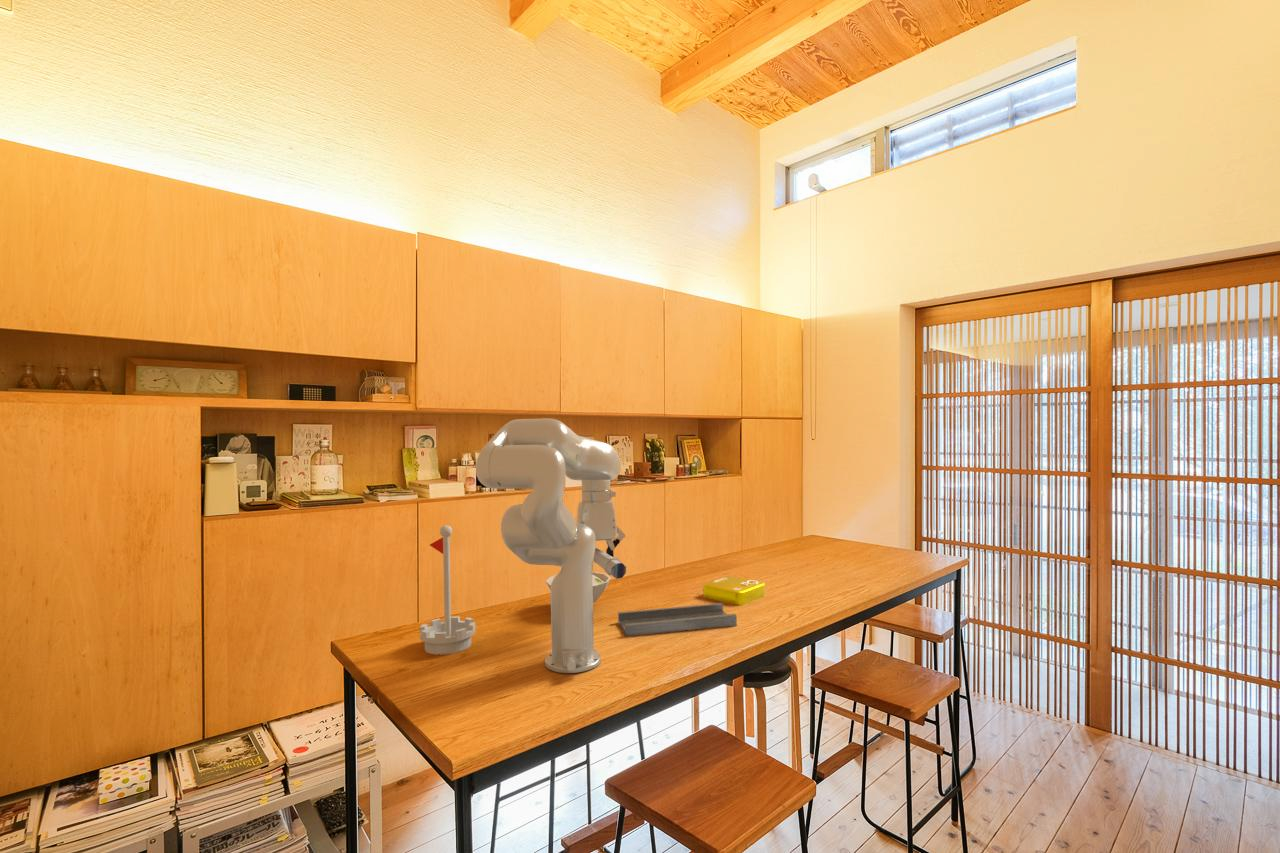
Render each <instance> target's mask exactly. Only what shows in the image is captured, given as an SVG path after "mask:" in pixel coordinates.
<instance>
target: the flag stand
mask: <svg viewBox="0 0 1280 853" xmlns="http://www.w3.org/2000/svg"><path fill="white" fill-rule="evenodd" d="M439 533H440V535H441V538H439V539H437V540H436V541H434V542H432V543H430V544H429V546H430V547H432V548H433V549H435V550H436V551H438V552H439V553H441V554H442V555H443V556H442V557H443V563H442V564H443V604H444V605H443V611H444V612H443V614H444V621H442V619H441V618H435V619H432V620H430V622H429V623H430V624H429V625H428V623H423V624H421V625H420V627H419V639H420V640H421V641H422V642H423V643H424V651H425V653H427V654H431V655H436V656H437V655H438V654H440V655H441V656H442V654H443V655H451V654H455V653H458V652H462V651H465V650H467V649H468V648H470V647H471V645H472V636H474V634H476V622H475V621H474V619H473V618H471V617H468V616H467V617H466V618H464V620H461V616H460V615H459V616H458V615H457V616H452V615H451V614H452V610H451V608H452V606H451V603H452V601H451V600H452V599H451V556H450V552H451V551H450V548H451V547H450V543H451V542H450V536H452V534H453V529H452V527H451V526H450V525H447V524H446V525H443V526H441V528H440V529H439Z"/></svg>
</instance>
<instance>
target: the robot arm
mask: <svg viewBox="0 0 1280 853" xmlns="http://www.w3.org/2000/svg"><path fill="white" fill-rule="evenodd" d="M621 468H622V462H621V457H620V455H619V453H618V452H617V450H616V449H615V448H614V447H613V446H612V445H611V444H609V443H606V442H605V441H599V440H596V439H592V438H590V437H585V436H582V435H578V434H577V433H576V432H574V431H573V430H572V429H571V428H570V427H568V426H567V425H566V424H565V423H563V421H561V420H558V419H556V418H543V417H542V418H518V419H512V420H510V421H508V422H506V423H505V424H504V425H503V426H502V427H501V428H499V429H498V431H497V432H496V433H495V434H494V435H493V436H492V437H491V438H490V439H489V440H488V441H487V442H486V444H485V445H484V446H483V447H482V449H481V450H480V452H479V453H478V456H477V458H476V462H475V473H476V476H477V480H478V481H479V482H480V483H481V484H482V485H483V486H484V487H486V488H489V489H492V490H494V489H495V490H496V489H498V490H500V489H501V490H505V489H506V490H510V489H511V490H516V489H517V490H521V489H522V490H526V489H527V490H531V491H530V492H529V493H528V495H527V496H526V497H525V499H524V501H523V502H522V503H518V504H514V505H511V506H510V507H508V508H507V509H506V510H505V512H504V514H503V515H502V517H501V521H500V532H501V538H502V540H503V543H504V545H505V546H506V547H507V549H508V550H510V551H511V552H512V553H513V554H514V555H515V556H516V557H517V558H518V559H520V560H521V561H523V562H524V563H526V564H527V565H528V564H529V565H536V566H537V565H538V566H556V567H560V570H559V571H558V573H557V574H555V575H556V577H555V578H554V579H553V581H552V584H551V590H550V623H551V624H550V626H551V629H550V630H551V637H550V638H551V653H549V654H547V655H546V656H545V658H544V666H545V667H546V668H547V669H548V670H550V671H553V672H555V673H560V674H561V673H562V674H577V673H582V672H583V673H584V672H587V671H590V670H593V669H595V668H596V667H598V666H599V665H600V663H601V661H602V660H601V659H602V656H601V654H600V652H598V651H597V650H595V648H594V603H593V588H592V575H593V572H594V571H593V568H594V553H595V547H596V544H597V542H598V541H600V542H601V541H605V543H606V545H607V548H606V549H605V550H606V551H605V553H606V554H608V555H610V556H612V557H614V551H615V549H616V548H617V546H618V545H619V544H620V542H621V541H622V540H623V539H624V538H625V537H626V534H625V533H624V532H623V531H622V529H620V528H619V526H617V518H616V517H617V516H616V510H615V506H614V501H612V498H614V497H616V496H617V493H616V491H613V490H611V481H613V480H615V479H616V478H618V477H619V475H620V472H621ZM566 477H567V478H568V479H569V480H573V481H581V501H580V502H578V505H577V515H576V519H575V518H574V516H573V514H572V513H571V511H570V510H569V509H568V507H567V506H566V504H565V503H564V502H563V500H564V495H565V494H564V493H565V484H566ZM614 558H615V557H614Z"/></svg>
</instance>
